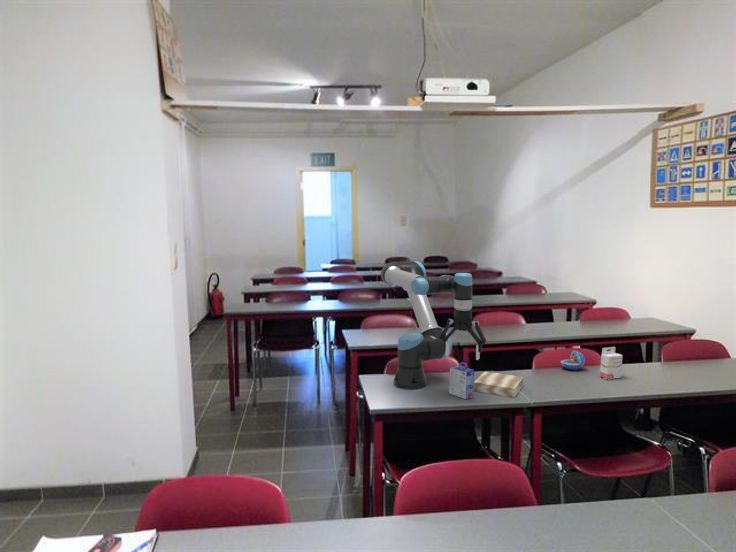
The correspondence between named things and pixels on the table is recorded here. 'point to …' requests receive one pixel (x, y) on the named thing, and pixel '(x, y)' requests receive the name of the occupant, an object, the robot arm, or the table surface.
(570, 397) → the table surface
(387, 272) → the robot arm
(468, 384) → the ink cartridge box
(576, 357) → the cell model
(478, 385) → the birch base
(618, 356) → the ink cartridge box
